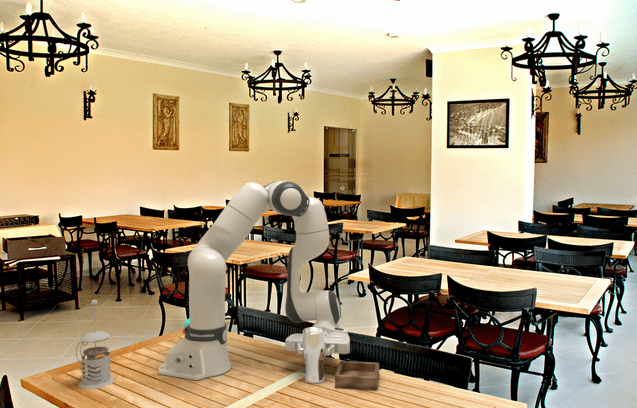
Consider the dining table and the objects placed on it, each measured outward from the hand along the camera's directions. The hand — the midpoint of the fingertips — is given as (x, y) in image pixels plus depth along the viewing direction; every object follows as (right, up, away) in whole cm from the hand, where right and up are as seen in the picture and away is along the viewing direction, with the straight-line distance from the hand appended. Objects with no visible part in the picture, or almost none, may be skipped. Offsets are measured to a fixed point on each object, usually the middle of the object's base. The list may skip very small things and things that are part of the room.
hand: (313, 352), depth 148 cm
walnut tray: (+13, -8, 0) cm, 16 cm away
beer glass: (0, -9, +1) cm, 9 cm away
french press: (-66, -9, +1) cm, 67 cm away
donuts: (-42, -8, +32) cm, 53 cm away
